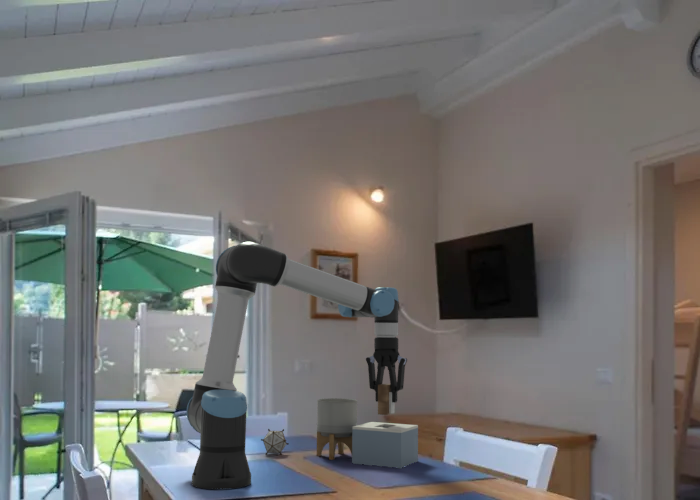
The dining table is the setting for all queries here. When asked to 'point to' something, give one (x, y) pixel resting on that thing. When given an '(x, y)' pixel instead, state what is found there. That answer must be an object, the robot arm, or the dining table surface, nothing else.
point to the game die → (274, 441)
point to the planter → (335, 424)
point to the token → (383, 399)
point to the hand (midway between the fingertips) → (386, 412)
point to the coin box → (385, 444)
